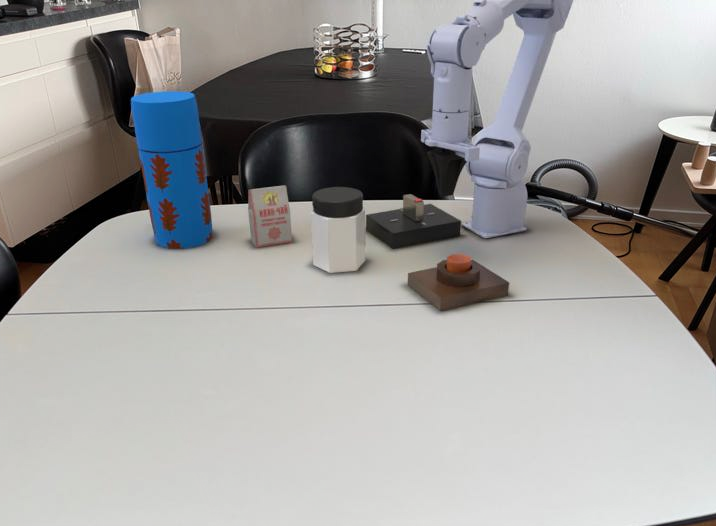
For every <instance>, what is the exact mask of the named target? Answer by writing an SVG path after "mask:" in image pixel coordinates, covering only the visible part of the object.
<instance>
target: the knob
mask: <svg viewBox="0 0 716 526" xmlns="http://www.w3.org/2000/svg"><path fill="white" fill-rule="evenodd" d="M402 198H403V199H402V209H403V214H404V215H405V216H407V217H408V218H410V219H412V220H413V221H415V222H419V221H423V212H424V205H425V201H424V199H422V198H419V197H417V196H415V195H414V194H411V193H409V194H403V195H402Z"/></svg>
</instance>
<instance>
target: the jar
mask: <svg viewBox="0 0 716 526" xmlns="http://www.w3.org/2000/svg"><path fill="white" fill-rule="evenodd" d="M311 202H312V204H311V205H312V211H311V212H310V224H311V225H310V226H311V245H312V246H311V247H312V248H311V249H312V264H313V266H314V267H316V268H318V269H320V270H323V271H325V272H327V273H328V274H336V273H347V272H348V273H349V272H357V271H358V269H359V268H360V267H361V266H362V265H363V264H364V263H365V262H366V208H365V207H363V206H364V194H363V192H362V191H361V190H360V189H357V188H353V187H347V186H332V187H324V188H321V189H318V190H316V191H315V192H313V194H312V200H311Z"/></svg>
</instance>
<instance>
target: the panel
mask: <svg viewBox="0 0 716 526" xmlns="http://www.w3.org/2000/svg"><path fill="white" fill-rule="evenodd" d="M461 230H462V221H461V220H460V219H459V218H457V217H455V216H453V215H452V214H449V213H448V212H446V211H444V210H443V209H441V208H439V207H437V206H435V205H434V204H432V203H427V204H424V212H423V221H419V222H415V221H413V220H412V219H410V218H408V217H407V216H405V215H404V214H403V208H397V209H392V210H386V211H381V212H380V211H379V212H374V213H367V214H365V231H367V232H368V233H370V234H371V235H372V236H374V237H375V238H377V239H378V240H379V241H380V242H382V243H384V244H385V245H386V246H388V247H389V248H391V249H392V250H397V249H400V248H401V249H402V248H407V247H412V246H416V245H417V246H418V245H422V244H426V243H432V242H437V241H438V242H439V241H442V240H447V239H452V238H453V239H454V238H459V237H461Z"/></svg>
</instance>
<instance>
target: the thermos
mask: <svg viewBox="0 0 716 526" xmlns="http://www.w3.org/2000/svg"><path fill="white" fill-rule="evenodd" d="M130 107H131V109H130V110H131V116H132V120H133V127H134V133H135V139H136V145H137V147H138V149H137V150H138V155H139V159H140V160H139V161H140V167H141V172H142V178H143V183H144V190H145V194H146V195H145V196H146V200H147V206H148V212H149V219H150V222H151V227H152V231H153V235H154V241H155V243H156V244H157V245H158V246H160V247H162V248H166V249H175V250H177V249H178V250H179V249H190V248H195V247H199V246H203V245H205V244H207V243H209V242H210V241H211V240H212V239H213V235H214V234H213V233H214V232H213V221H212V210H211V209H212V208H211V203H210V201H211V200H210V194H209V187H208V179H207V170H206V163H205V156H204V148H203V141H202V140H203V139H202V132H201V131H202V130H201V124H200V116H199V108H198V103H197V98H196V94H194V93H193V92H188V91H181V90H180V91H178V90H171V91H170V90H165V91H154V92H145V93H141V94H138V95H135V96H132V97H131V99H130Z"/></svg>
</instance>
